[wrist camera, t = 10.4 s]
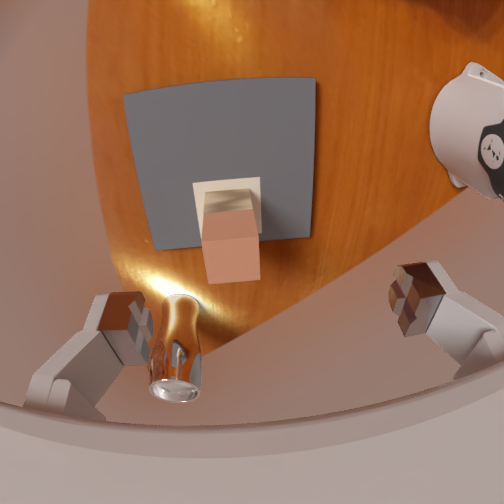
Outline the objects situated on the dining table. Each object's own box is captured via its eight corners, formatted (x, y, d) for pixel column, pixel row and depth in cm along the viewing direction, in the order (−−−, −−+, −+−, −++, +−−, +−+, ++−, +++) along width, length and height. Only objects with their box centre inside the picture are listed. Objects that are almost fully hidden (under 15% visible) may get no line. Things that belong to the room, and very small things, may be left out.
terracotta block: (253, 209, 31) (258, 236, 27) (255, 249, 34) (260, 279, 30) (203, 213, 31) (201, 241, 27) (209, 253, 34) (208, 284, 30)
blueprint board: (312, 77, 29) (315, 78, 28) (307, 231, 41) (309, 237, 40) (126, 94, 28) (122, 95, 27) (157, 245, 40) (155, 250, 39)
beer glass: (169, 325, 50) (162, 405, 38) (151, 296, 46) (137, 381, 34) (209, 317, 49) (209, 400, 37) (194, 287, 45) (189, 375, 33)
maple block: (248, 188, 35) (252, 209, 31) (251, 225, 38) (254, 249, 34) (205, 192, 35) (203, 213, 31) (210, 228, 38) (209, 253, 34)
